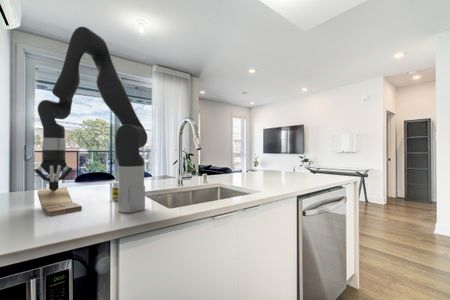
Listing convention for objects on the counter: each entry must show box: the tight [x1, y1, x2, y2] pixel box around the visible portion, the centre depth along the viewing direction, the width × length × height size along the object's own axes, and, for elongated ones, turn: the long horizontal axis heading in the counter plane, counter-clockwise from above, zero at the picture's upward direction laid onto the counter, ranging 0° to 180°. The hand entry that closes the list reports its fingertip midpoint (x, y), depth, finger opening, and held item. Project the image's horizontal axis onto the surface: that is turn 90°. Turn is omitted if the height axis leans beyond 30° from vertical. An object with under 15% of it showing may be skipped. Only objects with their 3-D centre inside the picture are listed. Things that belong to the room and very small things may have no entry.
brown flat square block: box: [42, 201, 83, 217], centre depth 80 cm, size 10×10×2 cm
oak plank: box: [37, 186, 73, 211], centre depth 86 cm, size 10×10×2 cm
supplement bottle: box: [111, 181, 118, 202], centre depth 99 cm, size 5×5×8 cm
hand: (53, 190), depth 87 cm, fingers closed
